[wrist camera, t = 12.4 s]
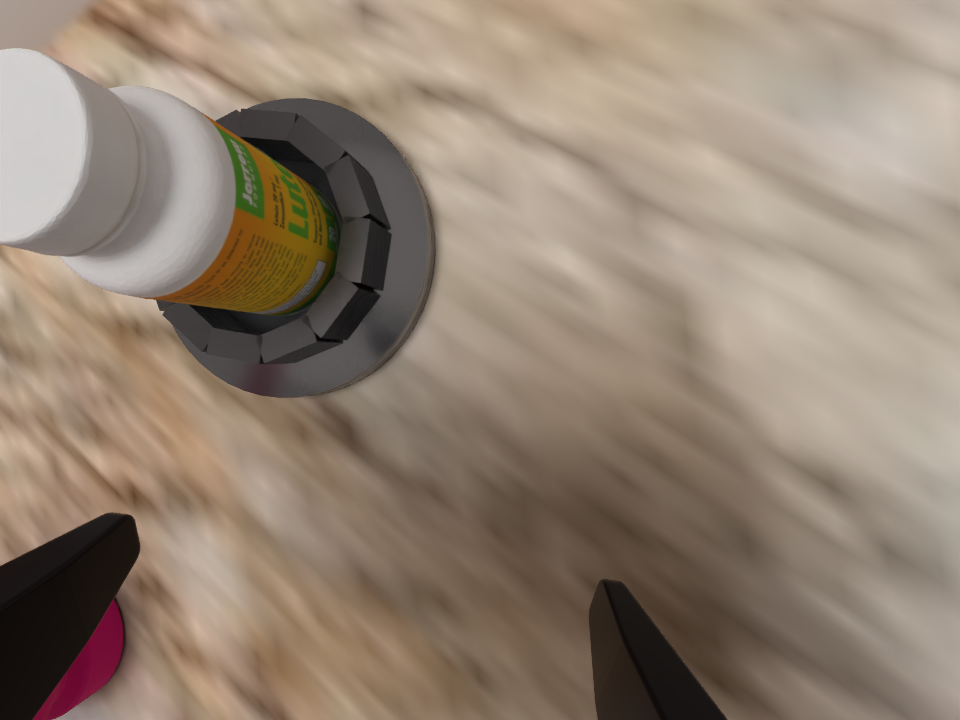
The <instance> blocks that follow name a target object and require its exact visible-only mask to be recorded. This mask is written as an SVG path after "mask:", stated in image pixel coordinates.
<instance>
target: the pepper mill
mask: <svg viewBox="0 0 960 720" xmlns="http://www.w3.org/2000/svg"><path fill="white" fill-rule="evenodd" d="M123 644H124V639H123V624H122V620H121V616H120V612H119V608H118V606H117V604H116V602H115V600H114V599H113V601H112V603H111V604H110V606H109V608H108V609H107V611H106V613H105V615H104V616H103V618H102V620H101V621H100V623H99V625H98V627H97V628H96V630H95V631H94V633H93V635H92V636H91V638H90V639H89V641H88V642H87V644H86V645H85V647H84V648H83V650H82V651H81V653H80V654H79V655H78V657H77V658H76V660H75V661H74V662H73V664H72V665H71V667H70V668H69V669H68V671H67V672H66V674H65V675H64V676H63V678H62V679H61V681H60V682H59V683H58V685H57V686H56V688H55V689H54V690H53V692H52V693H51V695H50V696H49V697H48V699H47V700H46V702H45V703H44V704H43V706H42V707H41V709H40V710H39V711H38V713H37V714H36V716H35V717H34V718H33V720H51V719H55V718H57V717H60V716H62V715H64V714H65V713H67V712H68V711H69V710H71V709H72V708H74V707H75V706H77V705H78V704H79V703H81V702H82V701H84V700H85V699H87V698H88V697H89V696H91V695H92V694H94V693H95V692H96V691H98V690H99V689H101V688H102V687H103V686H104V685H105V684H106V683H107V682H108V681H109V680H110V678H111V677H112V675H113V674H114V672H115V669H116V667H117V665H118V663H119V661H120V658H121V653H122V649H123Z"/></svg>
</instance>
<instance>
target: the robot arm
mask: <svg viewBox="0 0 960 720" xmlns="http://www.w3.org/2000/svg"><path fill="white" fill-rule="evenodd" d="M139 552H140V541H139V537H138V532H137V527H136V523H135V519H134V518H133V517H132V516H131V515H128V514H121V513H113V512H112V513H106V514H104V515H101V516H99V517H97V518H95V519H93V520H91V521H89V522H87V523H85V524H83V525H81V526H79V527H77V528H75V529H73V530H71V531H69V532H67V533H65V534H63V535H61V536H59V537H57V538H55V539H53V540H51V541H49V542H47V543H45V544H43V545H41V546H39V547H37V548H35V549H33V550H31V551H29V552H27V553H25V554H23V555H21V556H19V557H17V558H15V559H13V560H11V561H9V562H7V563H5V564H3V565H1V566H0V720H33V718H34V717H35V716H36V714H37V713H38V711H39V710H40V709H41V707H42V706H43V704H44V703H45V702H46V700H47V699H48V697H49V696H50V695H51V693H52V692H53V690H54V689H55V688H56V686H57V685H58V683H59V682H60V681H61V679H62V678H63V676H64V675H65V674H66V672H67V671H68V669H69V668H70V667H71V665H72V664H73V662H74V661H75V660H76V658H77V657H78V655H79V654H80V653H81V651H82V650H83V648H84V647H85V645H86V644H87V642H88V641H89V639H90V638H91V636H92V635H93V633H94V631H95V630H96V628H97V627H98V625H99V623H100V621H101V620H102V618H103V616H104V615H105V613H106V611H107V609H108V608H109V606H110V604H111V603H112V601H113V599H114V598H115V596H116V594H117V592H118V591H119V589H120V587H121V586H122V584H123V582H124V580H125V579H126V577H127V575H128V574H129V572H130V570H131V569H132V567H133V565H134V563H135V562H136V560H137V558H138V555H139ZM589 626H590V640H591V653H592V667H593V680H594V693H595V704H596V711H597V717H598V720H727V718H726V717H725V716H724V714H723V713H722V712H721V710H720V709H719V708H718V707H717V705H716V704H715V703H714V701H713V700H712V699H711V697H710V696H709V695H708V693H707V692H706V691H705V689H704V688H703V687H702V686H701V684H700V683H699V682H698V680H697V679H696V678H695V676H694V675H693V674H692V672H691V671H690V670H689V668H688V667H687V666H686V665H685V663H684V662H683V661H682V659H681V658H680V657H679V655H678V654H677V653H676V651H675V650H674V649H673V647H672V646H671V645H670V643H669V642H668V641H667V640H666V638H665V637H664V636H663V634H662V633H661V632H660V630H659V629H658V628H657V626H656V625H655V624H654V622H653V621H652V620H651V619H650V617H649V616H648V615H647V613H646V612H645V611H644V609H643V608H642V607H641V605H640V604H639V603H638V601H637V600H636V599H635V598H634V596H633V595H632V594H631V592H630V591H629V590H628V588H627V587H626V586H625V585H624V584H623V583H622V582H620V581H616V580H608V579H602V580H601V581H600V582H599V584H598V586H597V589H596V592H595V594H594V597H593V600H592V603H591V605H590V610H589Z"/></svg>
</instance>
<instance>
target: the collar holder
mask: <svg viewBox="0 0 960 720" xmlns="http://www.w3.org/2000/svg"><path fill="white" fill-rule="evenodd" d="M215 122H217V123H218V124H220V125H221V126H223V127H224V128H226V129H227V130H229V131H230V132H232V133H233V134H235V135H237V136H238V137H240V138H241V139H243V140H244V141H246V142H247V143H249V144H250V145H252V146H253V147H255V148H257V149H258V150H260V151H261V152H263V153H264V154H266V155H267V156H269V157H270V158H272V159H273V160H275V161H276V162H278V163H279V164H281V165H282V166H284V167H285V168H286V169H288V170H289V171H291V172H293V173H294V174H296V175H297V176H299V177H300V178H302V179H303V180H305V181H306V182H308V183H309V184H311V185H312V186H313V187H315V188H316V189H317V190H319V191H320V192H321V193H322V194H323V195H324V196H326V197H327V199H328V200H329V201H330V202H331V203H332V205H333V206H334V208H335V209H336V211H337V213H338V215H339V217H340V219H341V221H342V230H341V237H340V244H339V250H338V257H337V263H336V270H335V275H334V276H333V278H332V279H331V280H330V282H329V283H328V284H327V286H326V287H325V288H324V290H323V291H322V293H321V294H320V295H319V297H318V298H317V299H316V301H315V302H314V303H313V305H312V306H311V307H310V309H308V310H306V311H304V312H301V313H299V314H295V315H290V316H271V315H262V314H255V313H250V312H243V311H235V310H228V309H221V308H213V307H206V306H197V305H190V304H183V303H176V302H168V301H161V300H156V301H157V304H158V307H159V310H160V311H165V312H164V313H163V316H164V317H165V318H166V319H167V320H168V321H169V322H171V324H172V325H173V327H174V329H175V331H176V333H177V335H178V337H179V338H180V339H181V341H182V342H183V344H184V345H185V346H186V348H187V349H188V351H189V352H190V353H191V354H192V355H193V356H194V357H195V358H196V359H197V360H198V361H199V362H200V364H202V365H203V366H204V367H205V368H207V369H208V370H209V371H210V372H211V373H213V374H214V375H215V376H217V377H219V378H220V379H222V380H223V381H225V382H227V383H228V384H230V385H233V386H235V387H237V388H240V389H242V390H244V391H247V392H251V393H255V394H258V395H262V396H270V397H278V398H284V397H302V396H309V395H316V394H322V393H328V392H332V391H335V390H338V389H341V388H344V387H347V386H349V385H351V384H353V383H355V382H358V381H360V380H362V379H363V378H365V377H366V376H368V375H369V374H371V373H372V372H374V371H376V370H377V369H378V368H379V367H380V366H382V365H383V364H384V363H385V362H386V361H387V360H389V359H390V358H391V357H392V356H393V355H394V353H395V352H396V351H397V350H398V349H399V348H400V347H401V346H402V344H403V343H404V342H405V340H406V339H407V337H408V336H409V334H410V333H411V331H412V330H413V328H414V327H415V325H416V323H417V321H418V319H419V317H420V315H421V313H422V311H423V308H424V306H425V303H426V300H427V297H428V294H429V291H430V287H431V282H432V278H433V273H434V263H435V233H434V227H433V220H432V215H431V211H430V208H429V205H428V201H427V198H426V195H425V193H424V191H423V189H422V186H421V184H420V182H419V180H418V178H417V176H416V175H415V173H414V172H413V170H412V168H411V167H410V165H409V164H408V163H407V161H406V160H405V159H404V158H403V157H402V155H401V154H400V153H399V152H398V151H397V149H396V148H395V147H394V146H393V145H392V143H391V142H390V141H389V140H388V139H387V137H386V136H385V135H383V134H382V133H381V132H380V131H379V130H378V129H377V128H376V127H375V126H373V125H372V124H371V123H369V122H368V121H366V120H365V119H363V118H362V117H360V116H359V115H357V114H356V113H354V112H351V111H349V110H347V109H345V108H343V107H341V106H338V105H334V104H331V103H328V102H324V101H319V100H312V99H305V98H297V99H281V100H274V101H269V102H265V103H262V104H258V105H255V106H252V107H250V108H248V109H241V112H239V111H237V110H235V111H233V112H231V113H229V114H227V115H226V116H224V117H222V118H220V119H218V120H216V121H215Z"/></svg>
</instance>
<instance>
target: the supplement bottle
mask: <svg viewBox="0 0 960 720" xmlns="http://www.w3.org/2000/svg"><path fill="white" fill-rule="evenodd" d="M341 230H342V221H341V219H340V217H339V215H338V213H337V211H336V209H335V208H334V206H333V205H332V203H331V202H330V201H329V200H328V199H327V197H326V196H324V195H323V194H322V193H321V192H320V191H319V190H317V189H316V188H315V187H313V186H312V185H311V184H309V183H308V182H306V181H305V180H303V179H302V178H300V177H299V176H297V175H296V174H294V173H293V172H291V171H289V170H288V169H286V168H285V167H284V166H282V165H281V164H279V163H278V162H276V161H275V160H273V159H272V158H270V157H269V156H267V155H266V154H264V153H263V152H261V151H260V150H258V149H257V148H255V147H253V146H252V145H250V144H249V143H247V142H246V141H244V140H243V139H241V138H240V137H238V136H237V135H235V134H233V133H232V132H230V131H229V130H227V129H226V128H224V127H223V126H221V125H220V124H218V123H217V122H215V121H214V120H212V119H211V118H209V117H208V116H206V115H205V114H203V113H202V112H200V111H198V110H197V109H195V108H194V107H192V106H190V105H189V104H187V103H185V102H184V101H182V100H180V99H178V98H177V97H175V96H173V95H171V94H168V93H166V92H163V91H160V90H157V89H153V88H149V87H142V86H120V87H113V88H109V89H107V88H105V87H103V86H101V85H99V84H98V83H96V82H94V81H93V80H91V79H89V78H88V77H86V76H84V75H83V74H81V73H79V72H78V71H76V70H74V69H72V68H70V67H68V66H67V65H65V64H63V63H61V62H59V61H58V60H56V59H54V58H52V57H50V56H48V55H45V54H43V53H40V52H37V51H34V50H29V49H21V48H12V49H3V50H0V244H1V245H6V246H10V247H15V248H19V249H24V250H29V251H33V252H36V253H40V254H44V255H52V256H59V257H60V258H61V259H62V260H63V262H64V263H65V264H66V265H67V266H68V267H69V268H70V269H71V270H73V271H74V272H75V273H76V274H78V275H79V276H80V277H82V278H83V279H85V280H86V281H88V282H90V283H92V284H94V285H95V286H98V287H100V288H102V289H105V290H108V291H112V292H115V293H119V294H124V295H129V296H134V297H139V298H145V299H154V300H161V301H168V302H176V303H183V304H190V305H197V306H206V307H213V308H221V309H228V310H235V311H243V312H250V313H255V314H262V315H271V316H290V315H295V314H299V313H301V312H304V311H306V310H308V309H310V307H311V306H312V305H313V303H314V302H315V301H316V299H317V298H318V297H319V295H320V294H321V293H322V291H323V290H324V288H325V287H326V286H327V284H328V283H329V282H330V280H331V279H332V278H333V276H334V275H335V270H336V263H337V257H338V250H339V244H340V237H341Z"/></svg>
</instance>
